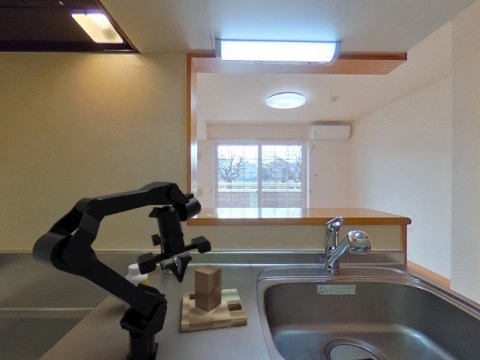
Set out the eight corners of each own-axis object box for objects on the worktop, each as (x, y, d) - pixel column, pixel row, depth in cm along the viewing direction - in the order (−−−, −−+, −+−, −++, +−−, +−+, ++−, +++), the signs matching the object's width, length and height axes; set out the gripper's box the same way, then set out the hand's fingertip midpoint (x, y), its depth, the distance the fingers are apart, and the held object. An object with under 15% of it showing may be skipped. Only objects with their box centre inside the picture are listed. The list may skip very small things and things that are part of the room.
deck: (247, 324, 71) (247, 317, 71) (181, 331, 68) (181, 324, 68) (236, 294, 89) (236, 288, 89) (183, 299, 85) (183, 293, 85)
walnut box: (208, 312, 74) (208, 274, 73) (194, 306, 77) (194, 270, 77) (221, 303, 79) (221, 268, 78) (208, 298, 82) (208, 264, 82)
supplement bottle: (147, 298, 86) (147, 261, 85) (148, 308, 79) (148, 267, 79) (126, 302, 83) (125, 263, 83) (124, 312, 77) (124, 270, 77)
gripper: (194, 212, 77) (202, 258, 80) (129, 230, 69) (140, 281, 72) (208, 221, 68) (216, 274, 71) (134, 243, 59) (147, 302, 62)
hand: (180, 282), depth 69 cm, fingers closed
